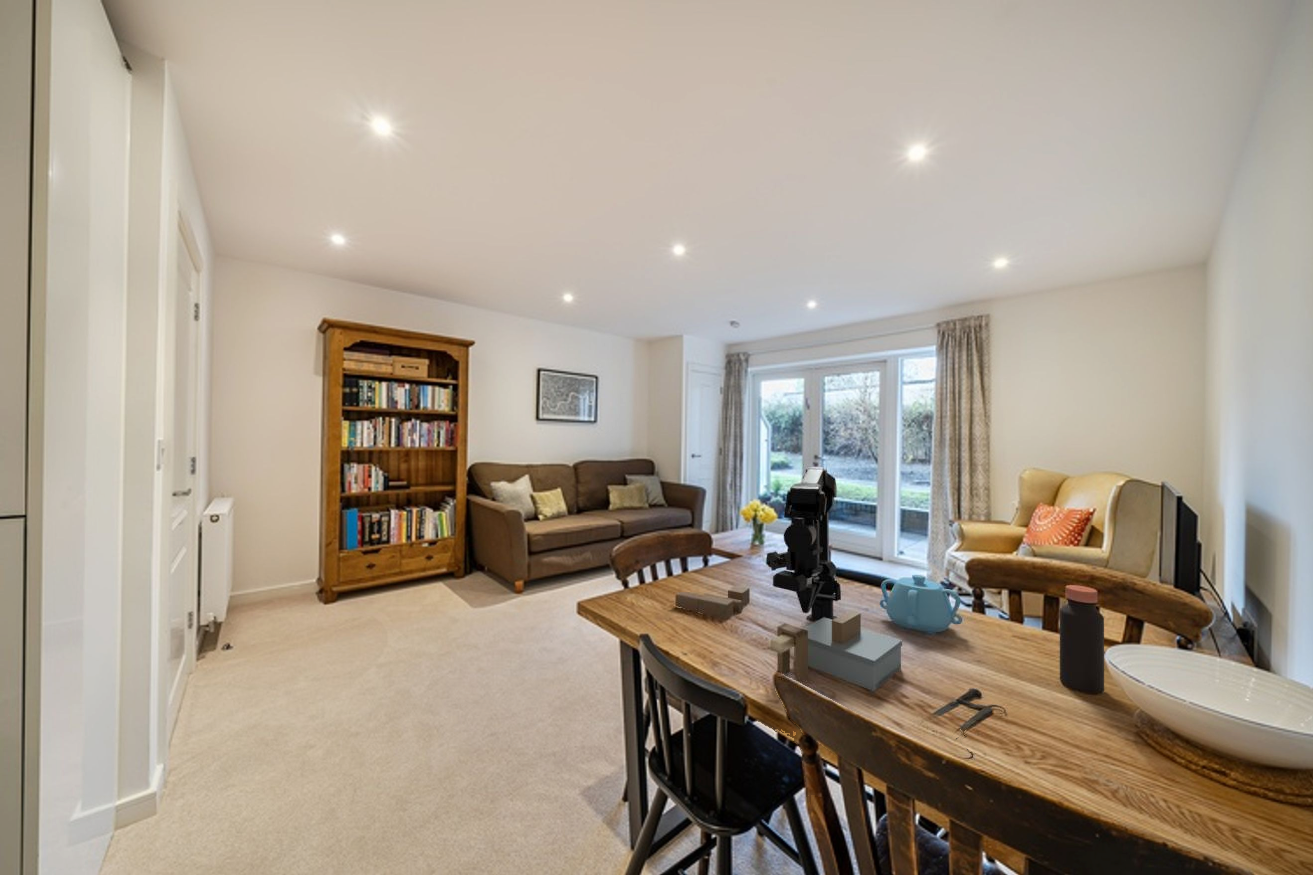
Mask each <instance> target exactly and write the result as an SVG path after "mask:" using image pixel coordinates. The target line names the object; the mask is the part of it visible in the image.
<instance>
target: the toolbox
mask: <svg viewBox="0 0 1313 875" xmlns="http://www.w3.org/2000/svg"><path fill="white" fill-rule="evenodd" d="M776 629H777V632H776V633H777V636H776V637H778V636H780V635H782V634H784V633H787V634H790V635H793V636H795V646H794V647H793V661H795V679H797V680H798V681H802V680H804V679H805V678H806V677H807V678H808V676H809V668H812V669H814V670H818V671H819V672H820V671H821V672H823V673H826V674H827V675H828V674H829V675H831V676H833V677H836V678H839V679H841V680H844V681H847V682H849V683H851V684H855V685H857V686H859V687H862V688H865V689H867V690H870V691H873V692H875V691H876V690H877V689H878V688H879V687H880V686H882V685H883V684H884V683H886V682H887V681H888V680H889V679H891V677H893V676H894V675H895V674H896V673H897V672H899V670H902V646H901V647H900V648H899V649H897V650H896V651H895V652H893V653H892V654H891V655H889V656H888V657H887V658H885V659H884V660H883V661H882V662H880V663H879V664H878V665H876V666H875V667H873V666H870V665H868V664H865V663H862V662H859V661H856V660H853V659H850V658H847V657H844V656H842V655H839V654H836V653H833V652H830V651H827V650H824V649H821V648H819V647H816V646H813V645H810V644H808V631H807V630H804V629H802V628H800V627H798V626H796V625H791V624H788V623H782V624H781V625H779V626H777V628H776ZM776 653H777V672H779V671H780V672H779V673H781V672H782V674H783V673H784V672H786V671H788V670H790V669H791V648H790V649H788V650H787V651H785V652H783V653H781V654H780V653H778V652H776Z"/></svg>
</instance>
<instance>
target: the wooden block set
mask: <svg viewBox="0 0 1313 875" xmlns="http://www.w3.org/2000/svg"><path fill="white" fill-rule="evenodd" d="M750 595H751V594H750V587H744V586H743V587H742V586H732V587H731V588H729V589H728V590H727V596H726V597H725V596H722V595H721V596H720V595H715V594H710V593H704V594H699V593H693V592H688V591H685V592H678V593H676V594H675V607H676V606H678V607H682V608H685V609H689V610H688V611H690V610H693V611H692V612H694V611H697V612H696V613H698V612H700V613H703V614H702V615H704V614H707V615H706V616H709V615H711V616H710V617H713V616H714V617H715V618H717V617H718V618H719V619H723V620H728V619H730V618H731V617H732V616H734V612H738V613H741V612H742V611H743V610H744V607H745V606H746V605H748V604H749V603H750V601H751V598H750ZM747 603H748V604H747ZM744 605H745V606H744ZM743 606H744V607H743ZM685 609H684V610H685ZM733 610H734V611H733ZM700 613H699V614H700ZM714 617H713V618H714Z"/></svg>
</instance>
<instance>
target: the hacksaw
mask: <svg viewBox="0 0 1313 875" xmlns="http://www.w3.org/2000/svg"><path fill="white" fill-rule="evenodd" d="M981 697H982V692H981V691H980V690H979V689H977V688H974V687H973V688H968V691H967V692H965V693H964V694H962V695H960V696H958V697H957V698H956V699H955V701H953V700H951V701H950V702H948V703H947V704H945V705H943V706H942V707H940V708H938V709H936V711H933V712H932V713H931V714H930V716H932V715H933V716H935V717H936V716H937V717H941V716H942V715H944V714H946V713H947V712H950V711H951V710H953V709H955V708H956V707H957V706H959V705H965V706H967V707H968V708H969V707H970V708H974V709H977V710H979V711H978V712H977V713H976V714H974V715H973V716H972V717H971V718H969V719H968V720H967V721H966V722H965V723H964V724H962V725H961V726H960V727H959V728H958V729H957V730H955V732H957V731H959V730H960V729H961V730H962V731H963V732H964V731H965V730H966V729H968V728H970V727H971V728H973V727H974V726H976V725H977V724H978V723H979V722H982V720H984V719H985V718H987V716H989V715H990V714H992V713H993V712H994V711H993V708H994V707H995V708H996V707H997V708H1000V709H1003V711H1004V712H1000V713H999V712H996V713H995V714H996V715H998V714H999V715H1001V714H1005V713H1006V712H1007V710H1006V708H1004V707H1003V706H1001V705H998V704H988V705H985V704H977V703H973V702H971V701H970V700H973V699H975V698H976V699H978V698H980V699H981ZM973 725H974V726H973ZM917 726H920V724H917ZM922 727H923V728H924V726H923V725H922ZM971 728H970V729H971ZM926 730H929V729H928V727H926ZM935 731H936V730H932V732H933V733H935ZM940 733H941V734H943V733H942V732H940ZM963 735H964V734H963ZM965 735H966V734H965ZM965 735H964V736H965ZM970 753H971V754H970ZM969 754H970V757H960V756H957V758H959V759H964V760H971V759H974V757H973V755H974V753H973V752H972V751H971V752H969ZM971 755H972V756H971ZM953 757H956V755H954V754H953Z"/></svg>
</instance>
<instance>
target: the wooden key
mask: <svg viewBox="0 0 1313 875" xmlns="http://www.w3.org/2000/svg"><path fill="white" fill-rule="evenodd" d="M794 646H795V636H793V635H790V634H787V633H784V634H782V635H780V636H778V637H777V636H776V637H774V638H772V639H770V651H773V652H775V653H777V652H778V653H780V654H781V653H783V652H785V651H787V650H788V649H790V650H791V649H792V648H794Z"/></svg>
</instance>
